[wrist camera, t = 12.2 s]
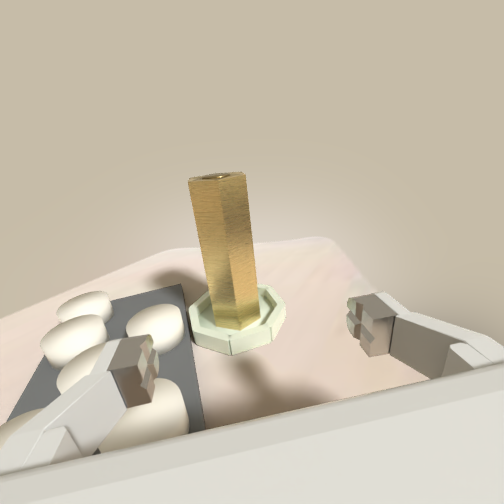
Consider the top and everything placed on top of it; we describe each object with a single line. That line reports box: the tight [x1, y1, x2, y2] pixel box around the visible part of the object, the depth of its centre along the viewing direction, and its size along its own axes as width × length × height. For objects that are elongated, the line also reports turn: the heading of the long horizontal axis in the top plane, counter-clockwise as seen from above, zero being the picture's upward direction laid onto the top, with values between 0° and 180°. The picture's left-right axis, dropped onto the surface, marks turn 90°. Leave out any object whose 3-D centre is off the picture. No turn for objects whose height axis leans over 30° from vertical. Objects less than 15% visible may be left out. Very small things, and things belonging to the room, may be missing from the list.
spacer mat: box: [0, 284, 206, 455], centre depth 20 cm, size 20×12×3 cm, turn 19°
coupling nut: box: [188, 172, 261, 331], centre depth 22 cm, size 4×5×13 cm
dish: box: [189, 284, 286, 356], centre depth 24 cm, size 9×9×2 cm
